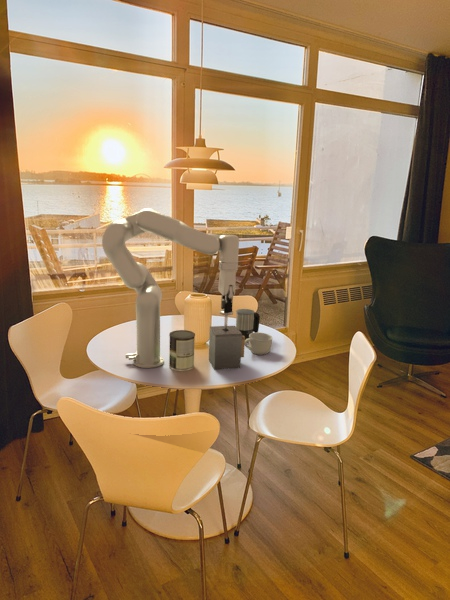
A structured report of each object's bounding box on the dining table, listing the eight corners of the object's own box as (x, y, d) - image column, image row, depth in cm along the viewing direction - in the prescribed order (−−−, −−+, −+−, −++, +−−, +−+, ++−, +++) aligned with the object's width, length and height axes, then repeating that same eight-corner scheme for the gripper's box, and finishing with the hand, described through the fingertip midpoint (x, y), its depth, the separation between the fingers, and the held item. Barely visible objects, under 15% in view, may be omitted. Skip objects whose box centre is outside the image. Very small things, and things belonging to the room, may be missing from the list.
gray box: (214, 369, 175) (215, 334, 172) (208, 359, 186) (209, 326, 182) (246, 367, 179) (248, 333, 175) (239, 358, 189) (240, 325, 185)
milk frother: (247, 344, 207) (249, 314, 204) (219, 337, 215) (220, 309, 212) (260, 337, 219) (262, 308, 216) (234, 331, 227) (235, 303, 224)
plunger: (217, 345, 175) (219, 302, 170) (213, 339, 182) (215, 297, 178) (236, 344, 177) (239, 301, 172) (231, 338, 184) (233, 297, 180)
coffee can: (164, 368, 174) (164, 335, 171) (176, 360, 184) (176, 328, 180) (187, 373, 171) (188, 339, 168) (198, 364, 180) (199, 332, 177)
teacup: (265, 347, 204) (266, 331, 202) (275, 355, 194) (277, 338, 192) (237, 350, 199) (238, 333, 197) (247, 358, 189) (248, 341, 187)
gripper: (214, 262, 179) (213, 305, 183) (224, 269, 163) (222, 316, 167) (232, 262, 181) (230, 305, 185) (243, 269, 165) (241, 315, 169)
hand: (226, 310), depth 176 cm, fingers closed on plunger, 4 cm apart
